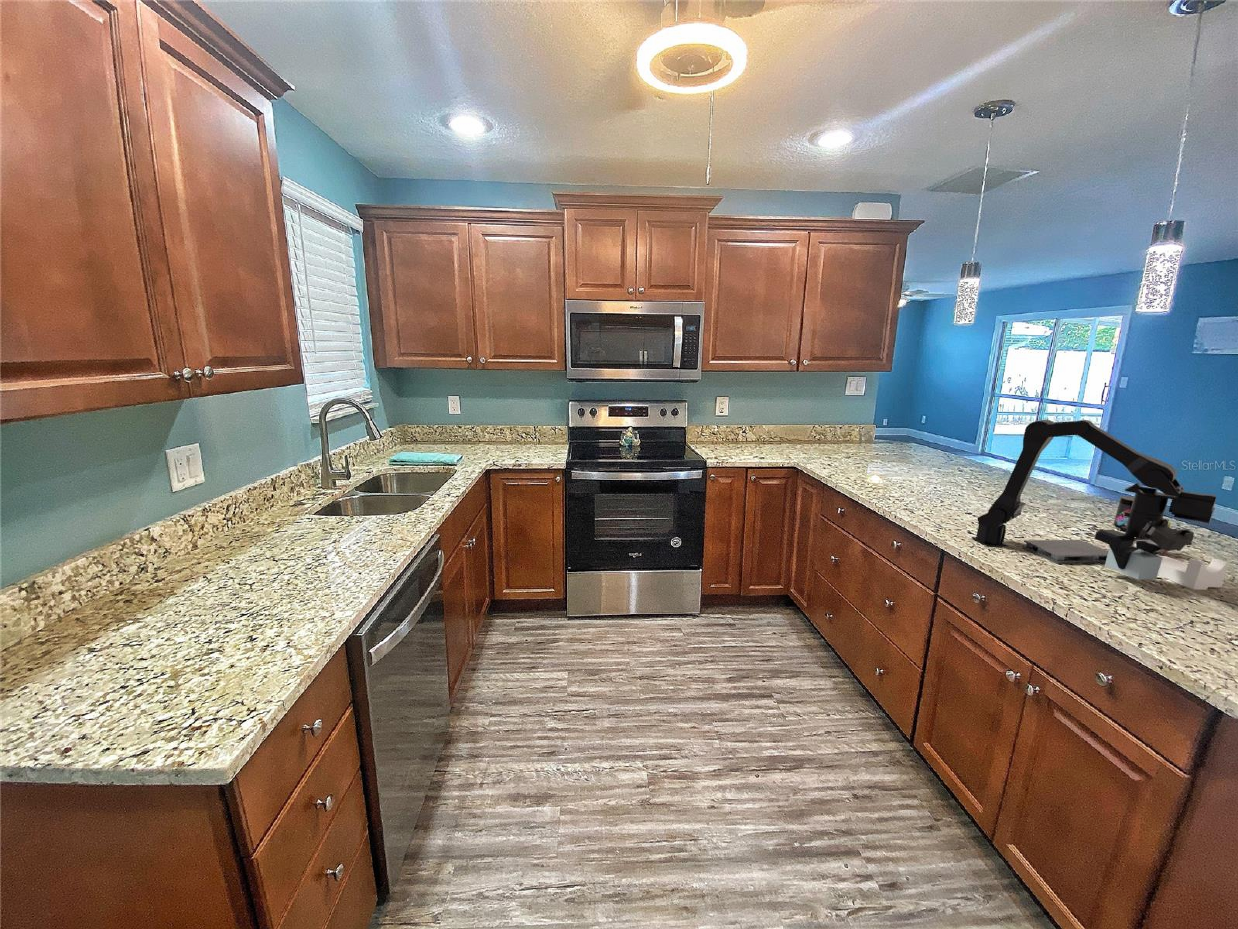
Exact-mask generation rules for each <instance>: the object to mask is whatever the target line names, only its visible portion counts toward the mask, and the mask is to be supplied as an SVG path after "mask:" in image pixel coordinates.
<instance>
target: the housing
mask: <svg viewBox="0 0 1238 929" xmlns="http://www.w3.org/2000/svg"><path fill="white" fill-rule="evenodd" d="M1108 551H1109V552H1108V555H1107V559H1106V563H1104V566H1105V567H1106V568H1109V569H1111V570H1114V571H1116V572H1118V573H1121V574H1123V575H1126V576H1128V577H1130V578H1133V579H1135V580H1137V581H1138V580H1139V581H1141V580H1157V577H1158V576H1159V575H1158V571H1159V568H1160V565H1161V562H1162V558H1163V557H1160V556H1161V555H1160V556H1159V555H1158V554H1156V555H1155V554H1152V553H1149V552H1146V551H1143V550H1141V549H1138V550H1136V551H1134V552H1132V553H1131V555H1130V558H1129V560H1128V563H1127V565H1126V567H1125V569H1120V568H1118V565H1117V562H1116V560H1115V557H1114V555H1113V552H1112V550H1111V548H1110V547H1109V548H1108Z"/></svg>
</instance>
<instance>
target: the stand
mask: <svg viewBox="0 0 1238 929" xmlns="http://www.w3.org/2000/svg"><path fill="white" fill-rule="evenodd" d="M1023 542H1024V543H1026V544H1025V545H1022V548H1021V549H1024V550H1026V551H1028V552H1030V553H1033V554H1035V555H1037V556H1038V557H1041V558H1043V559H1046V560H1048V561H1050V562H1052V563H1054V564H1056V565H1059V564H1061V565H1062V564H1064V565H1065V564H1105V563H1106V559H1107V555H1108V552H1109V550H1107V549H1105V548H1102V547H1099V546H1096V545H1094V544H1092V543H1089V542H1086V541H1083V540H1081V539H1044V540H1043V539H1037V540H1036V539H1034V540H1033V539H1032V540H1031V539H1030V540H1029V539H1028V540H1023Z"/></svg>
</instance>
